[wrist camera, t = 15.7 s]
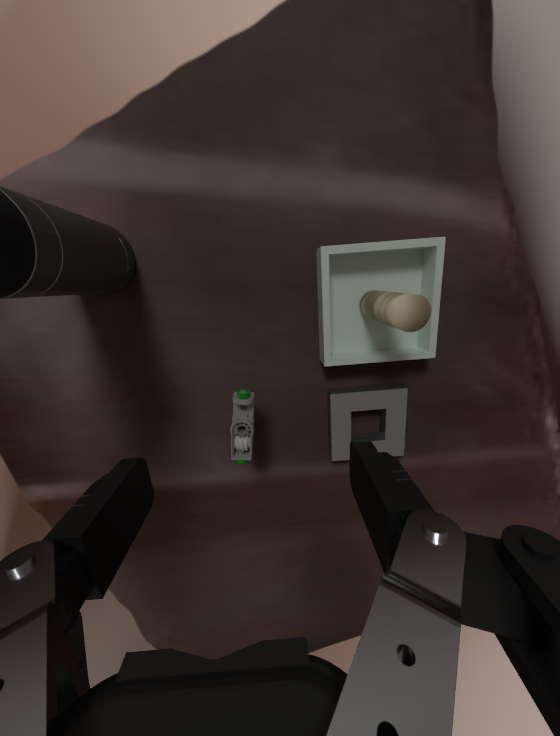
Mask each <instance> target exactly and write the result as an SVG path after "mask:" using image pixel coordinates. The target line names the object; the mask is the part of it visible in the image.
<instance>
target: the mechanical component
mask: <svg viewBox="0 0 560 736" xmlns="http://www.w3.org/2000/svg"><path fill="white" fill-rule="evenodd" d="M254 401H255V393H252V392H249V390H246V389H240V390H238V391H237V392H234V394H233V418H232V425H231V429H230V433H231V460H236V462H237V463H238V464H245V463H247V462H248V460H251V459H252V450H253V434H254V423H255V418H254Z"/></svg>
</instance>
